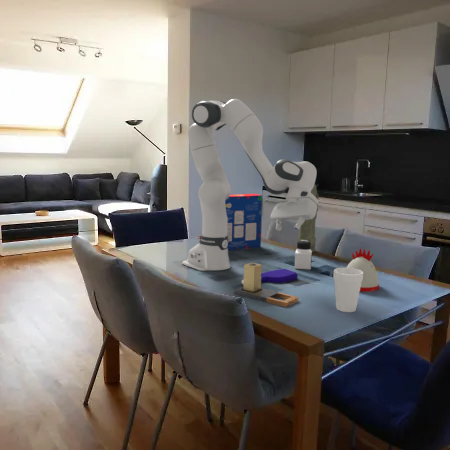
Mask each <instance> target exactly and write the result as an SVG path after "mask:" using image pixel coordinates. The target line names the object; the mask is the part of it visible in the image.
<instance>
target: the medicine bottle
mask: <svg viewBox="0 0 450 450" xmlns="http://www.w3.org/2000/svg"><path fill="white" fill-rule="evenodd" d="M310 250H311V242H309V241H305V240H301V241H298V240H297V243H296V250H295V252H294V269H297V270H311V269H312V255H313V254H312V251H310Z"/></svg>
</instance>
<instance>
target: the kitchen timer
mask: <svg viewBox="0 0 450 450" xmlns="http://www.w3.org/2000/svg"><path fill="white" fill-rule="evenodd" d="M354 252H355V255H354V253H353V252H352V253H351V256H352V258H353V259H352V260H351V261H350V262H349V263H348V265H347V266H346V267H345V268H354V269H358V270H361V271H362V272H363V280H362V282H361V287H360V292H369V293H370V292H375V291H377V290H379V287H380V280H379V276H378V273H377V268H376V267H375V265H374V264H373V262H372V261H371V259H372V258H373V257H374V253H372V254H371V249H369V250H367V253H366V249H365V248H364V249H363V252H362V248H360V249H359V251H358V250H355V251H354Z"/></svg>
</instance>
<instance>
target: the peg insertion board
mask: <svg viewBox="0 0 450 450" xmlns="http://www.w3.org/2000/svg"><path fill="white" fill-rule="evenodd" d="M234 295H239V296H243V297H246V298H251V299H254V300H258V301H262V302H265V303H269V304H272V305H277V306H281V307H284V308H287V307H289V306H291V305H294V304H296V303H297V302H299V297H298V296H294V295H291V294H286V293H282V292H279V291H275V290H270V289H266V288H262V287H261V291H259V292H257V293H250V292H246V291H244V285H243V286H239V287H238V288H235V289H234ZM277 298H280V299H277ZM281 299H283V300H281Z"/></svg>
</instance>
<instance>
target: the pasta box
mask: <svg viewBox="0 0 450 450" xmlns="http://www.w3.org/2000/svg"><path fill="white" fill-rule="evenodd" d="M225 207H226V214H227V218H228V224H227V235H228V252H229V251H237V250H239V251H240V250H247V249H248V250H249V249H256V248H257V249H258V248H261V247H262V246H261V244H262V213H263V212H262V210H263V195H262V194H257V193H244V194H243V193H242V194H241V193H239V194H230V196H229V198H228V199H227V200H225Z"/></svg>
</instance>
